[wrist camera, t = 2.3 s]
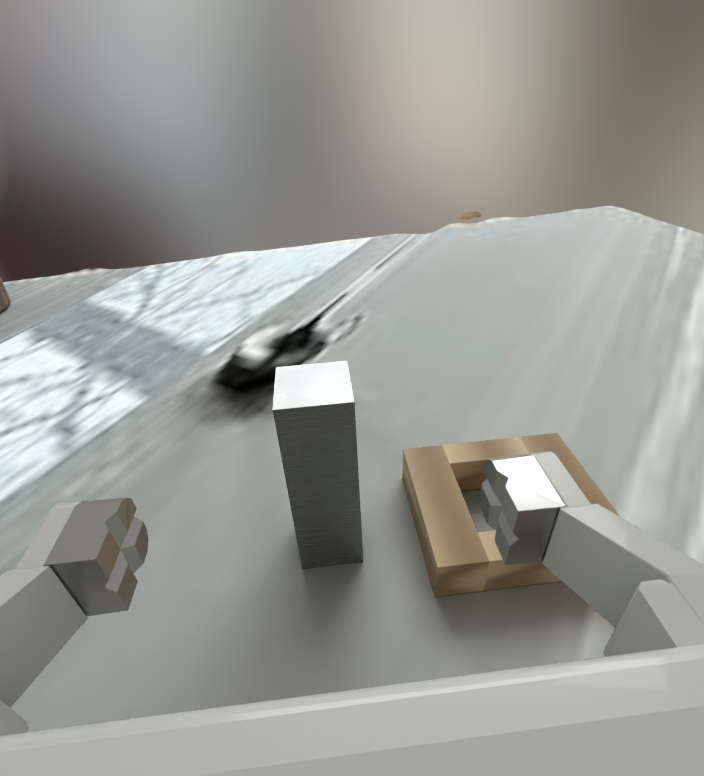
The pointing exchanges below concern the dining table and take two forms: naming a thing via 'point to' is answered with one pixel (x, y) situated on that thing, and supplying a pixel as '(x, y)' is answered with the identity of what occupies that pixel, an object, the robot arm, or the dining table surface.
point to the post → (320, 460)
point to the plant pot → (3, 297)
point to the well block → (453, 520)
